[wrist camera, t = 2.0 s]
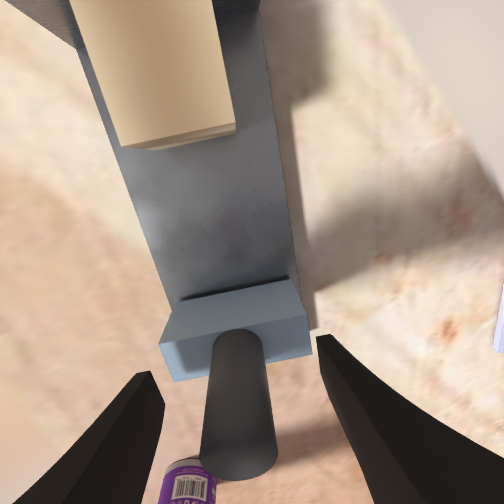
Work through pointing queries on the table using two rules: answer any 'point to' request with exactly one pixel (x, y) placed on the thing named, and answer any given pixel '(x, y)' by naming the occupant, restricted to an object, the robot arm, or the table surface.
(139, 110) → the block
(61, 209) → the table surface
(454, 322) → the table surface
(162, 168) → the base
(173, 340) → the sliding jaw
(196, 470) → the container
